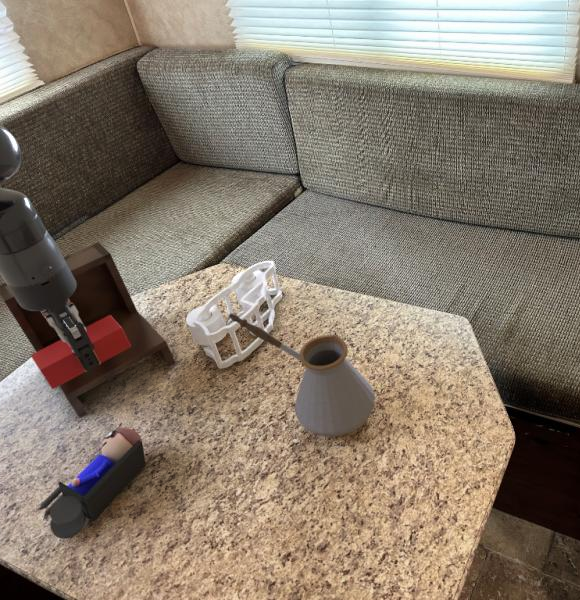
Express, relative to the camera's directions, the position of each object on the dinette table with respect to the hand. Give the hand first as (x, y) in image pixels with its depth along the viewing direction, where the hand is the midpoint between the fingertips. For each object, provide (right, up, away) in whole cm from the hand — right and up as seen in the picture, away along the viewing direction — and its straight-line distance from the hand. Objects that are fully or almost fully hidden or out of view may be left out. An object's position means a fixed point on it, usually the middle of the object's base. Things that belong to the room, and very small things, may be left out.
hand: (86, 358), depth 91 cm
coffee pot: (+34, -7, -1) cm, 35 cm away
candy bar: (0, 0, 0) cm, 1 cm away
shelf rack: (-1, -2, +9) cm, 10 cm away
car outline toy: (+21, +4, +14) cm, 25 cm away
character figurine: (+9, -17, -10) cm, 22 cm away
